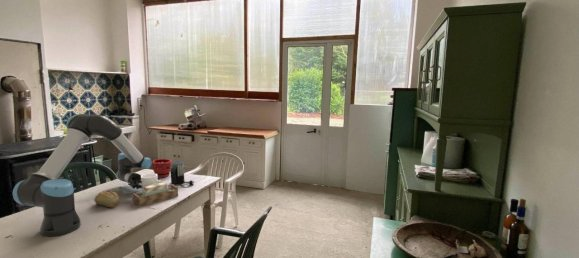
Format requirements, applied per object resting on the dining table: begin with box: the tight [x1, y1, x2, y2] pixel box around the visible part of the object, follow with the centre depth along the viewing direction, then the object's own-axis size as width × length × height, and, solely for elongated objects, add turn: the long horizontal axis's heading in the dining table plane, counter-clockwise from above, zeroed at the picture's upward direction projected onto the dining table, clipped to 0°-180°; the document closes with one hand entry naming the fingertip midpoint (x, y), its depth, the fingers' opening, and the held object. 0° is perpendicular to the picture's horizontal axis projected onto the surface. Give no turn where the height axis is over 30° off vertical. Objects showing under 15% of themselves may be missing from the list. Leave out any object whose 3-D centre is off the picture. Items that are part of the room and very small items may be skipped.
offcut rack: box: [131, 183, 179, 208], centre depth 175 cm, size 24×8×6 cm, turn 138°
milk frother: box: [169, 160, 195, 186], centre depth 204 cm, size 14×16×15 cm
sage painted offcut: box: [141, 186, 170, 197], centre depth 175 cm, size 14×4×2 cm, turn 138°
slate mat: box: [118, 183, 143, 195], centre depth 193 cm, size 15×15×1 cm
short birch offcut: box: [144, 181, 168, 193], centre depth 175 cm, size 12×4×2 cm, turn 138°
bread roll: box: [94, 190, 120, 208], centre depth 166 cm, size 10×15×8 cm, turn 71°
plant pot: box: [152, 158, 172, 178], centre depth 220 cm, size 13×13×12 cm
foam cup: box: [141, 172, 159, 191], centre depth 181 cm, size 10×9×13 cm
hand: (153, 185), depth 178 cm, fingers open, 10 cm apart
